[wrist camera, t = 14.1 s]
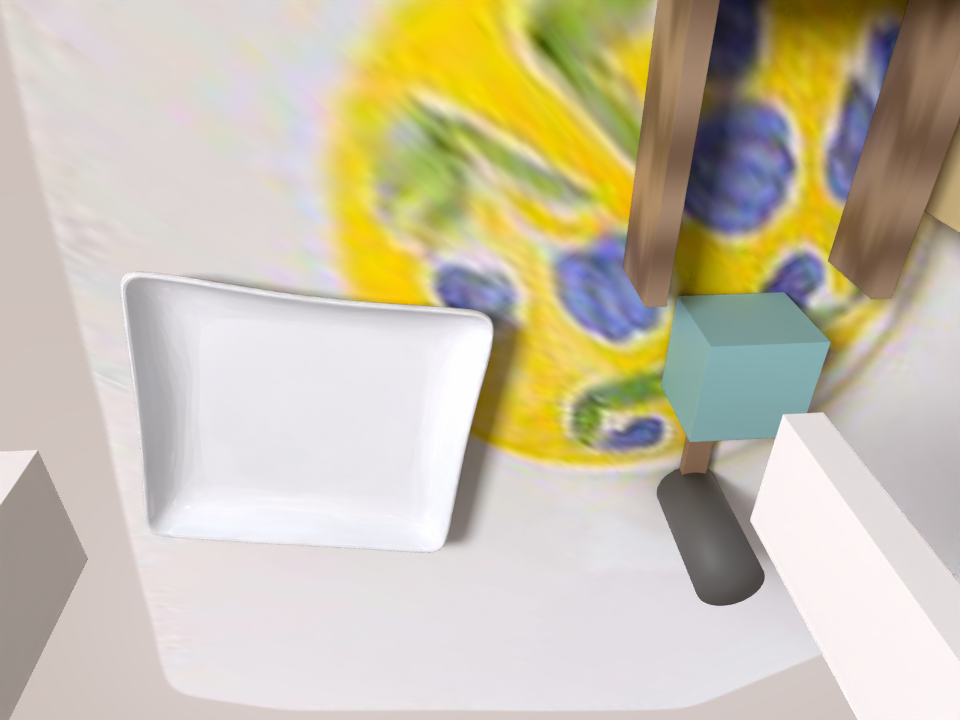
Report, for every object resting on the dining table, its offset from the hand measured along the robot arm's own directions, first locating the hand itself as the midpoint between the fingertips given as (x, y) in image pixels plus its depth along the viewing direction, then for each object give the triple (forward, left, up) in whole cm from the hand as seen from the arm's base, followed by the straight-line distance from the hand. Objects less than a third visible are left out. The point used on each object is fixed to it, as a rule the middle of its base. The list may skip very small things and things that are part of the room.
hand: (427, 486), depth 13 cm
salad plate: (+20, -8, -29) cm, 36 cm away
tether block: (+22, +19, -28) cm, 41 cm away
